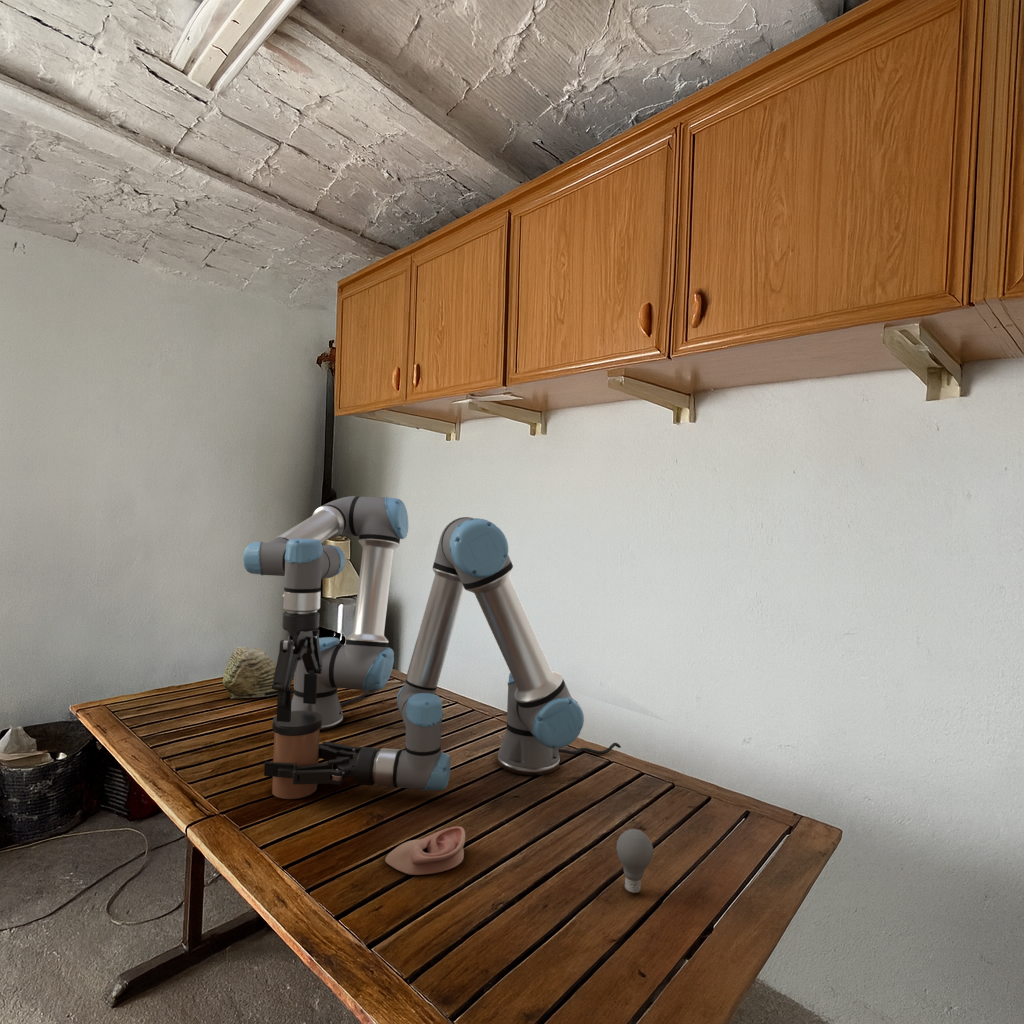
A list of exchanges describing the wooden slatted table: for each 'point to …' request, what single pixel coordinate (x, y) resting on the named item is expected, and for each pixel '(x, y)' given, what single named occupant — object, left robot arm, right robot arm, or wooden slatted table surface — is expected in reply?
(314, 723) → the lid
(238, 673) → the fossil
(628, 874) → the light bulb
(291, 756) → the jar
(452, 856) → the anatomical model
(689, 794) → the wooden slatted table surface
